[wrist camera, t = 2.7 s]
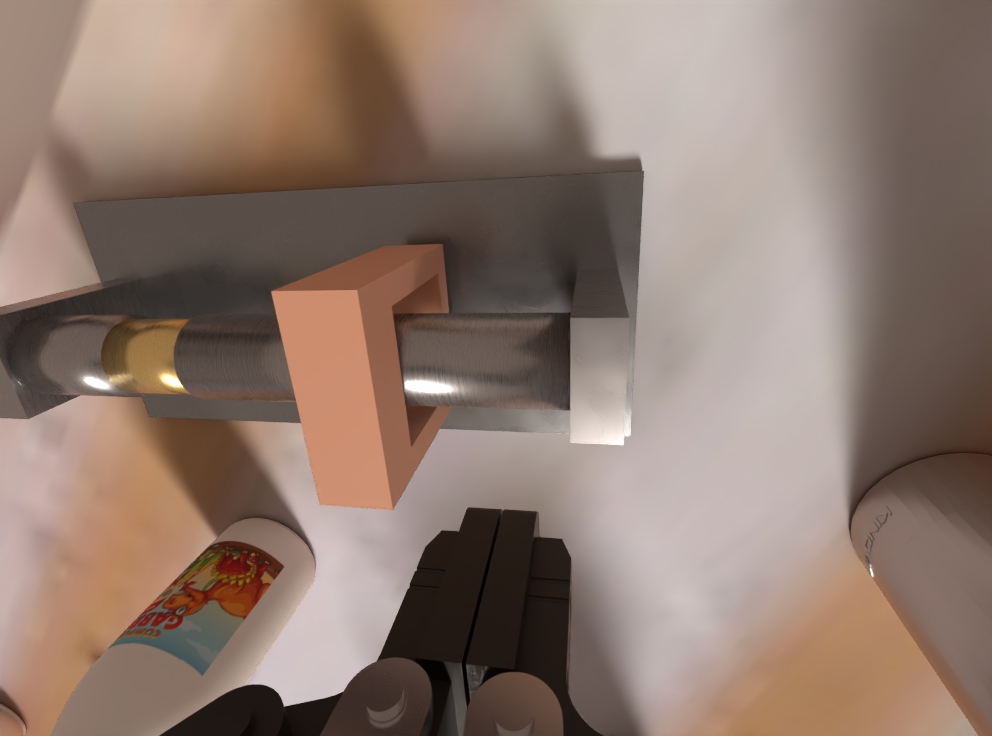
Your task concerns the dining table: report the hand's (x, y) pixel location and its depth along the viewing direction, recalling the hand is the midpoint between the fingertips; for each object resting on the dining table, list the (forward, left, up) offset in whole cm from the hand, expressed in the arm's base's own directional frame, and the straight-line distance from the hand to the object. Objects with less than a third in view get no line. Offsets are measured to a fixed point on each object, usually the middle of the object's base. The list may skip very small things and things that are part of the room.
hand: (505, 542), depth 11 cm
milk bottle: (+22, +19, -18) cm, 34 cm away
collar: (+7, 0, -16) cm, 17 cm away
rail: (+12, 0, -18) cm, 21 cm away
